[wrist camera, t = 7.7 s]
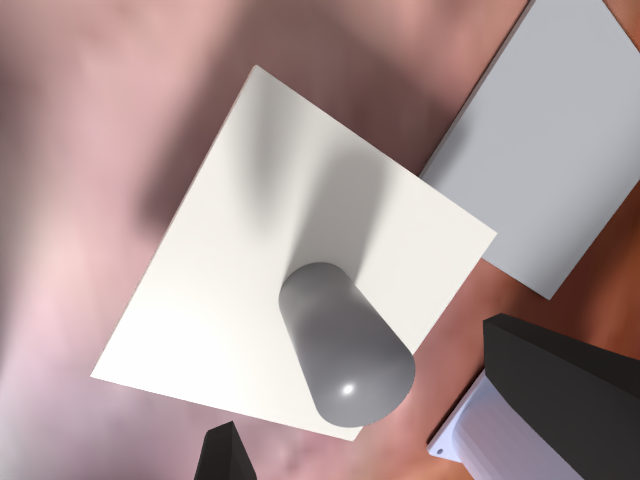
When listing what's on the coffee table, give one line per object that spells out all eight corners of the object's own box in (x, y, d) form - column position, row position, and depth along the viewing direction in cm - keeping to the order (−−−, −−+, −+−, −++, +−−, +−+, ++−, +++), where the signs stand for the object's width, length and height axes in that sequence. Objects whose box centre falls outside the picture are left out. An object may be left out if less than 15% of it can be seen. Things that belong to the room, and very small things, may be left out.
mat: (678, 117, 23) (685, 117, 23) (544, 297, 26) (549, 300, 25) (559, -46, 18) (567, -49, 17) (399, 205, 20) (403, 207, 19)
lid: (485, 227, 17) (611, 283, 12) (347, 428, 19) (402, 554, 13) (253, 66, 12) (292, 39, 7) (96, 362, 14) (30, 521, 8)
